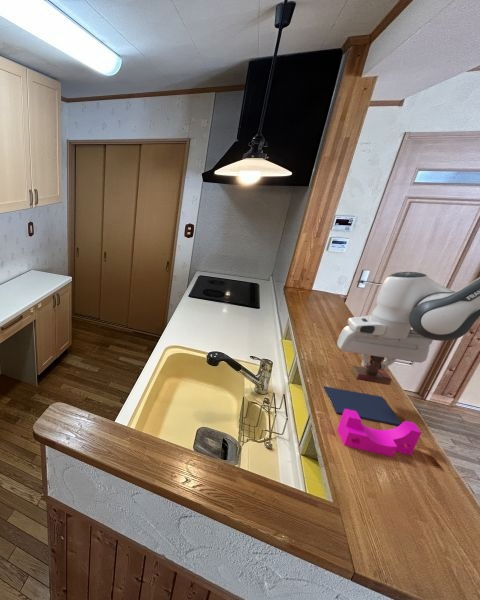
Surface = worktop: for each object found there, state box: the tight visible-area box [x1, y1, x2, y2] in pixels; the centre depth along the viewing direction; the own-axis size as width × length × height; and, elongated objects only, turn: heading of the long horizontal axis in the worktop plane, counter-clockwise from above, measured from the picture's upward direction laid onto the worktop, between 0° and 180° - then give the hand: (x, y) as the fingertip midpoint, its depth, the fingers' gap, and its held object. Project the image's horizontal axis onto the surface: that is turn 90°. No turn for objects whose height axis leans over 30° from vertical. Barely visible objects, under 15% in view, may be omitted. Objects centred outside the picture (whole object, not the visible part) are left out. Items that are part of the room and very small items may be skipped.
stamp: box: [350, 355, 393, 386], centre depth 97 cm, size 8×5×9 cm, turn 69°
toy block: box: [336, 409, 422, 458], centre depth 86 cm, size 15×6×8 cm, turn 67°
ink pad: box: [323, 385, 403, 427], centre depth 102 cm, size 16×14×1 cm
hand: (373, 367), depth 97 cm, fingers closed on stamp, 2 cm apart
